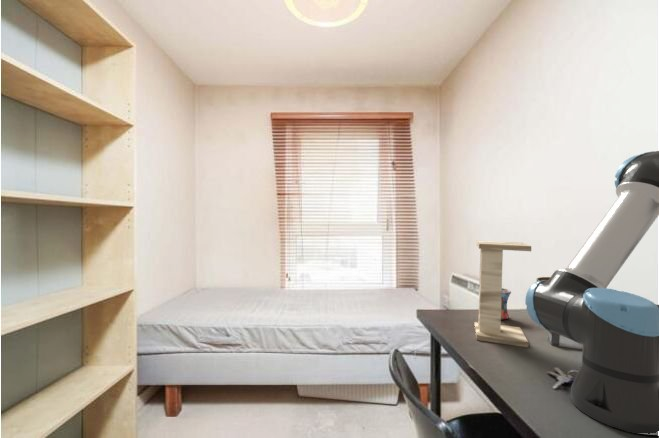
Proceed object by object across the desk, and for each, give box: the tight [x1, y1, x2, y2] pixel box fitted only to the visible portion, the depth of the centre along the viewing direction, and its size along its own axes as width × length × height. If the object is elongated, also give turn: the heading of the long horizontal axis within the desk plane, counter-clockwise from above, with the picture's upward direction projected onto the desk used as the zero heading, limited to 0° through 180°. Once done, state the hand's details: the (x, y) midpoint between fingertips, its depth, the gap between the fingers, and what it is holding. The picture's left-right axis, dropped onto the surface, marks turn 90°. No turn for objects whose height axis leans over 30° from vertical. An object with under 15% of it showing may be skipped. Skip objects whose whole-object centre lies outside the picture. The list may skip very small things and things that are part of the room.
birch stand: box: [473, 240, 532, 348], centre depth 105 cm, size 14×14×30 cm
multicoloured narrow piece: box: [501, 287, 512, 320], centre depth 126 cm, size 12×9×11 cm
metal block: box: [547, 330, 583, 350], centre depth 97 cm, size 22×4×4 cm, turn 69°
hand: (603, 308), depth 96 cm, fingers open, 13 cm apart
